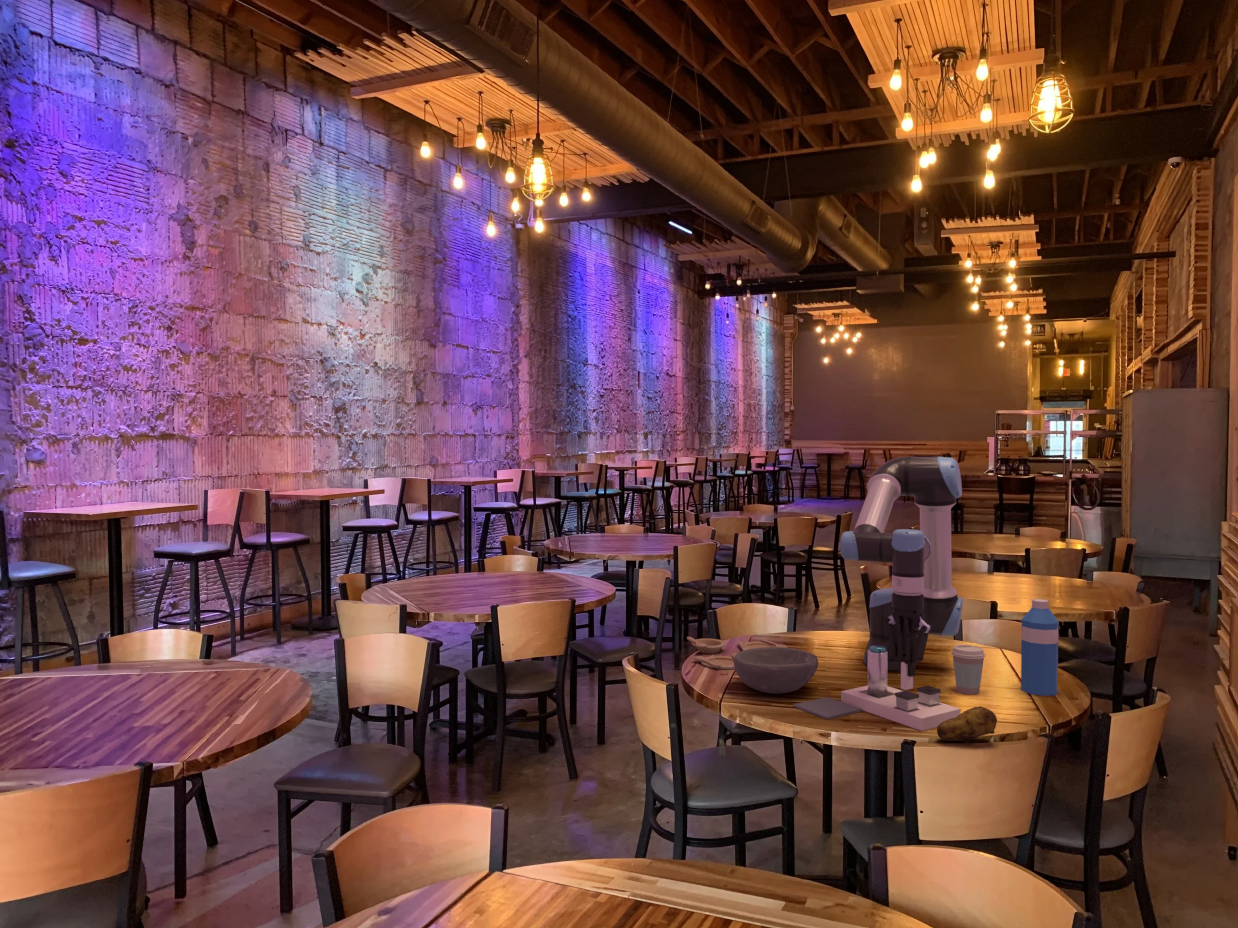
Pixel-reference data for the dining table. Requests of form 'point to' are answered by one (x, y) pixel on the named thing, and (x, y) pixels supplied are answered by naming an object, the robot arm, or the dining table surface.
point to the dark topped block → (928, 695)
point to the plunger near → (907, 700)
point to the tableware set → (716, 645)
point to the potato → (968, 725)
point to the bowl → (775, 668)
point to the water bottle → (1039, 650)
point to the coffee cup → (968, 668)
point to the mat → (827, 708)
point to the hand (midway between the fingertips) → (906, 688)
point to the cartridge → (877, 671)
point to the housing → (899, 709)
